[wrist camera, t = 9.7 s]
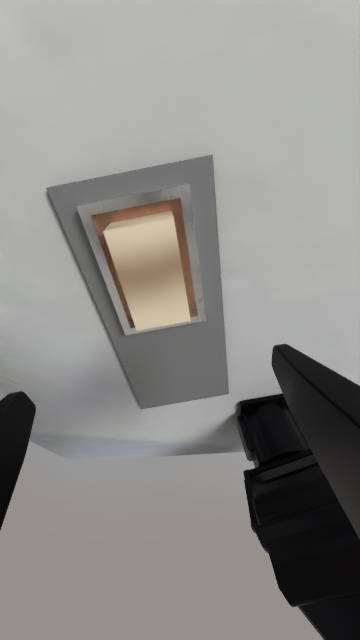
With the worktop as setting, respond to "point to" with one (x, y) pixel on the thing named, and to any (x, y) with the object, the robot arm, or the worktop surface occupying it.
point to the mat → (174, 342)
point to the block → (149, 269)
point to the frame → (140, 205)
